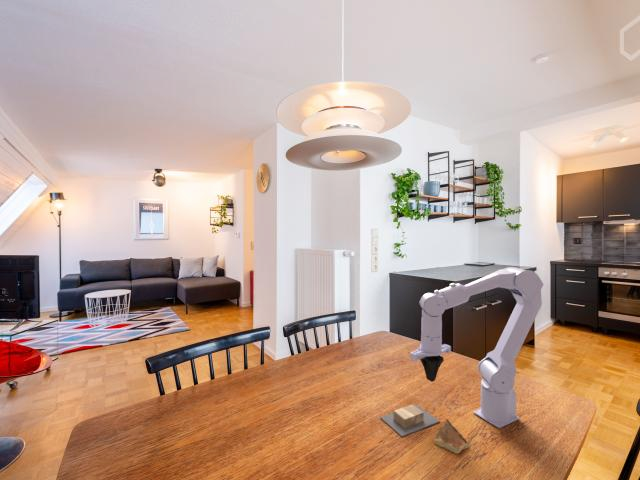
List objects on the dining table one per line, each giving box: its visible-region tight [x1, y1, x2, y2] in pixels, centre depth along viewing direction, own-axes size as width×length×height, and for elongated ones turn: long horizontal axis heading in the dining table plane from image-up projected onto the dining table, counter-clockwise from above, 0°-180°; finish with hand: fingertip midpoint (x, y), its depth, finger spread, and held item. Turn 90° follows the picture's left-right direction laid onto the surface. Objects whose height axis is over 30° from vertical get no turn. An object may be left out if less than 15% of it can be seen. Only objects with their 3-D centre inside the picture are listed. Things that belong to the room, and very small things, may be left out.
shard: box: [433, 418, 470, 454], centre depth 79 cm, size 11×8×2 cm
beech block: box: [393, 404, 424, 428], centre depth 86 cm, size 2×4×7 cm
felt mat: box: [380, 404, 441, 438], centre depth 87 cm, size 14×9×1 cm, turn 117°
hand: (430, 379), depth 90 cm, fingers closed
